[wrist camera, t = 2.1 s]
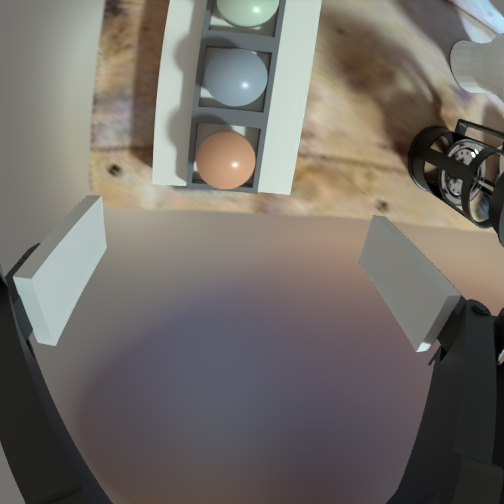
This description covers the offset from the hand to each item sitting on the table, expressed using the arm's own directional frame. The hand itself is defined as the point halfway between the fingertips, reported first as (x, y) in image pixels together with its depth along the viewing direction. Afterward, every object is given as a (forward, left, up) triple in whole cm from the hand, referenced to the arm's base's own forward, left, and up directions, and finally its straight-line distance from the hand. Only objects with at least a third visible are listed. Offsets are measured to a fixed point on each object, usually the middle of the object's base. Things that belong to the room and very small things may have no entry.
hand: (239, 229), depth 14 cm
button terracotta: (0, 0, -15) cm, 15 cm away
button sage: (-12, +8, -15) cm, 21 cm away
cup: (+3, +35, -21) cm, 41 cm away
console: (-6, +4, -21) cm, 22 cm away
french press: (+13, +24, -21) cm, 34 cm away
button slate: (-6, +4, -15) cm, 17 cm away
